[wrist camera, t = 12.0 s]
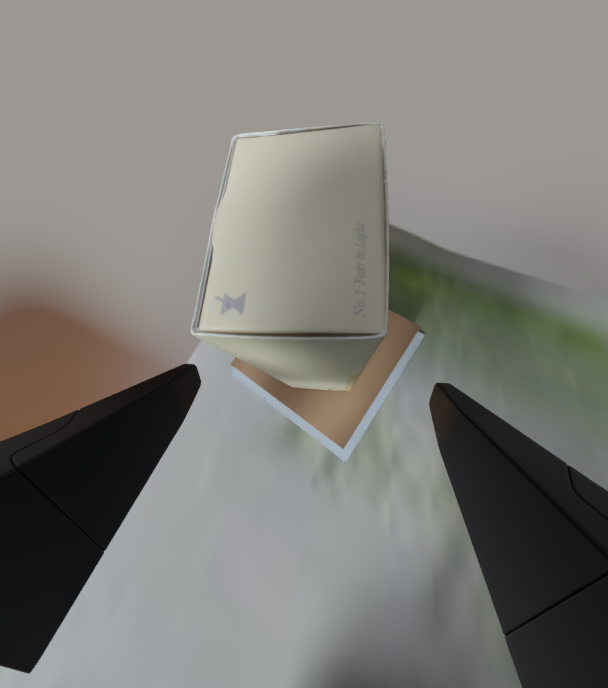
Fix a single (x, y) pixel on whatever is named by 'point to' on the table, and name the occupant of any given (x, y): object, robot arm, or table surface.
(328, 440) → the plan sheet
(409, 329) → the walnut plinth
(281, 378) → the skincare box
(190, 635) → the table surface
